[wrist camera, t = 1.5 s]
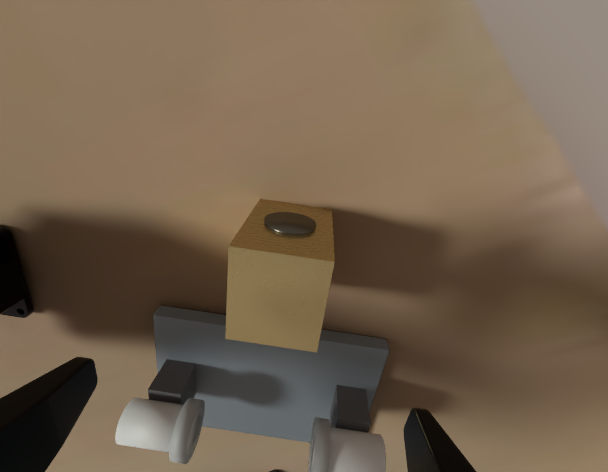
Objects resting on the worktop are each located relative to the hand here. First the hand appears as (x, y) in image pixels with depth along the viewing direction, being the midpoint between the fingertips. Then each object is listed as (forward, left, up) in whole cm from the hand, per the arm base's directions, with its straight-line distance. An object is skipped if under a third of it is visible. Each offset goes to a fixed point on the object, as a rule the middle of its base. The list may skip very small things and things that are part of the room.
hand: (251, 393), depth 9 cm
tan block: (0, 0, -10) cm, 10 cm away
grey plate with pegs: (0, -11, -10) cm, 15 cm away
